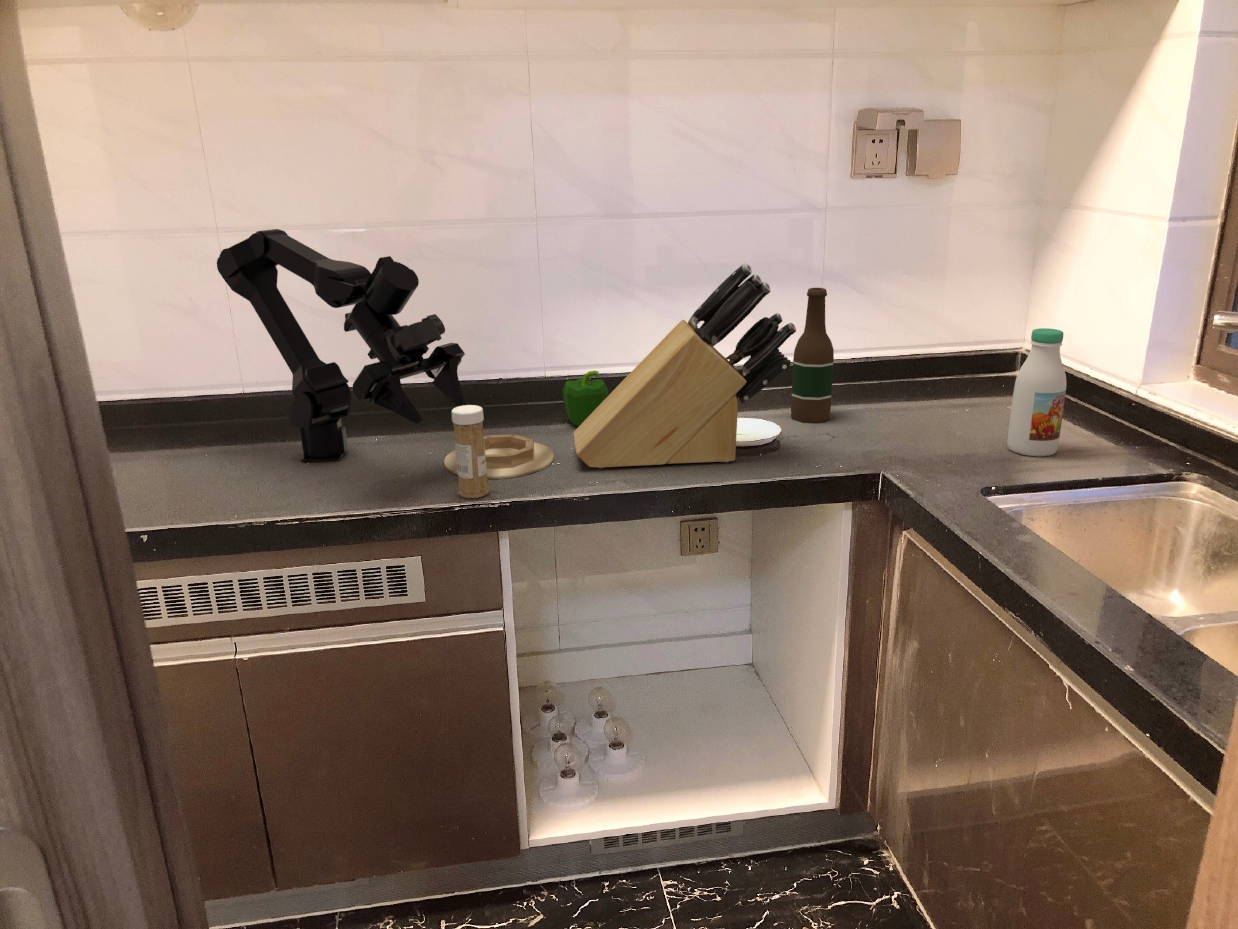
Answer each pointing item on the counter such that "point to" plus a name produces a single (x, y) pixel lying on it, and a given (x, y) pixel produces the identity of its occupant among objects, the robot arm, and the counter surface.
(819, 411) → the beer bottle
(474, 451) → the sprinkles bottle
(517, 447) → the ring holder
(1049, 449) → the milk bottle
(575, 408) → the bell pepper
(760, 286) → the knife block
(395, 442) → the counter surface
